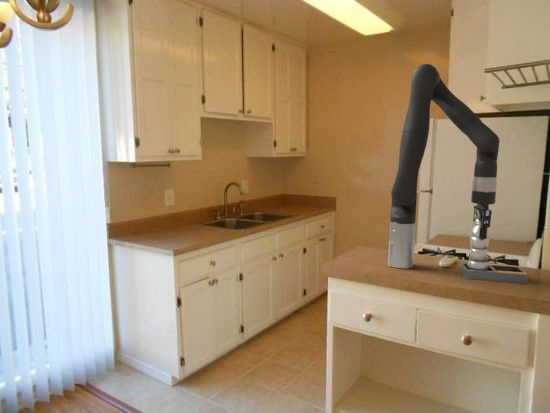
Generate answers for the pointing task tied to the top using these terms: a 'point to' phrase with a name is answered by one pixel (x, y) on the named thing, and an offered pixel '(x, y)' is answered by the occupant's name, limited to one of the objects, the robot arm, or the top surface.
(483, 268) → the plastic bottle
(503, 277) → the grey tray
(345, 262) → the top surface
